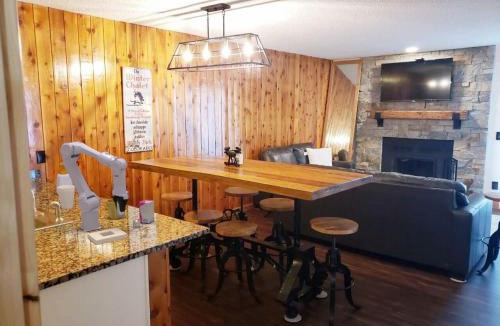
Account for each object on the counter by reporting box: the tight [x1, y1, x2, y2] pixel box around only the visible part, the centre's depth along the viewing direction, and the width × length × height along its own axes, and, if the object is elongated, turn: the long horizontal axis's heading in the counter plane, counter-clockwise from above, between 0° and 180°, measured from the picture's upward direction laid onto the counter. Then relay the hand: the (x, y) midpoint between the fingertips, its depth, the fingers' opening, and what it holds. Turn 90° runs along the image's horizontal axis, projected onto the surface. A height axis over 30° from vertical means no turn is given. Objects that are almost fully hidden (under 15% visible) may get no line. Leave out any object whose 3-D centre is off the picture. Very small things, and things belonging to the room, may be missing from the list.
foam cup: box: [56, 184, 76, 210], centre depth 229 cm, size 10×9×13 cm
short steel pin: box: [132, 218, 141, 229], centre depth 194 cm, size 4×4×4 cm
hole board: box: [87, 227, 128, 245], centre depth 178 cm, size 12×14×2 cm
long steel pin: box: [117, 201, 126, 219], centre depth 187 cm, size 4×4×8 cm
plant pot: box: [105, 198, 120, 220], centre depth 210 cm, size 10×10×10 cm
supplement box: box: [138, 199, 155, 225], centre depth 202 cm, size 6×6×12 cm
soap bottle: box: [55, 162, 74, 195], centre depth 266 cm, size 10×14×22 cm
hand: (120, 210), depth 187 cm, fingers closed on long steel pin, 4 cm apart
